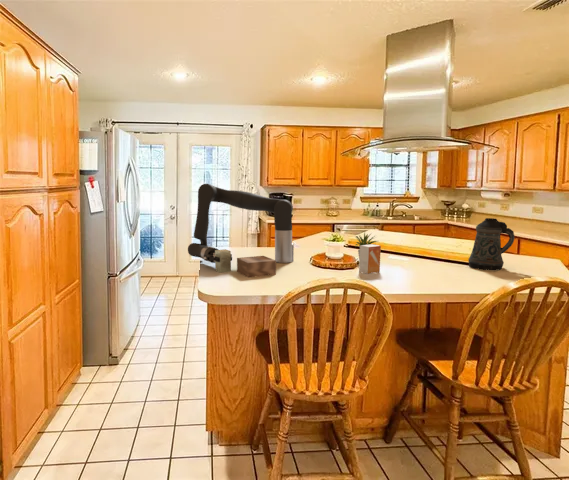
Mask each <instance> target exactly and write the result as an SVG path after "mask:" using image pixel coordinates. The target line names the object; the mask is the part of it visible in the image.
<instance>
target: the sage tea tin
mask: <svg viewBox="0 0 569 480" xmlns="http://www.w3.org/2000/svg"><path fill="white" fill-rule="evenodd" d="M231 254H232V251H231V250H230V249H229V250H228V249H225V248H224V249H218V250H215V256H216V257H219V258H220V262H216V261H215V263H214V266H215V271H216V272H218V273H228V272H232V261H231Z"/></svg>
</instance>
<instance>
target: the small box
mask: <svg viewBox="0 0 569 480" xmlns="http://www.w3.org/2000/svg"><path fill="white" fill-rule="evenodd" d="M359 250H360V259H359V258H358V261H359V265H358V266H359V267H358V272H360V273H363V274H368V275H369V274H375V273H377V274H378V273H380V272H381V271H380V270H381V268H380V267H381V253H382V252H381V245H379V244H375V245H374V243H372V244H370V245H361V246H360V247H359Z"/></svg>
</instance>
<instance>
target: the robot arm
mask: <svg viewBox="0 0 569 480" xmlns="http://www.w3.org/2000/svg"><path fill="white" fill-rule="evenodd" d="M211 203H221V204H222V203H223V204H226V205H228V206H232V207H234V208H238V209H242V210H248V211H255V212H256V211H259V212H268V213H272V214H273V215H274V217H273V218H274V260H276V263H280V264H281V263H283V264H284V263H292V262H294V259H295V258H294V257H295V255H294V254H295V252H294V249H295V248H294V243H293V222H292V221H293V218H292V217H293V215H292V214H293V210H294V209H293V204H292V202H291V201H290V200H288V199H281V198H280V199H278V198H270V197H266V196H263V195H260V194H257V193H253V192H248V191H243V190H230V189H229V190H228V189H224V188H220V187H218V186H215V185H213V184H210V183H203V184H201V185H200V186H199V187H198V192H197V211H196V212H197V213H196V219H195V220H196V221H195V225H194V230H193V231H194V232H193V237H194V238H195V239H197V240H199V242H200V243H197V242H192V243H189V245H188V247H187V253H188V254H189V256H191V257H196V258H199V259H202V260H204V261H207V262H208V263H212V264H215V261H216V262H220V258H219V257H216V256H215V250H219V249H218V248H215V247H212V246H209V245H208V231H209V224H210V217H209V216H210V214H209V213H210V206H211ZM232 255H233V254H232V253H231V262H232V261H233V256H232Z"/></svg>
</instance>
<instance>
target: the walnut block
mask: <svg viewBox="0 0 569 480" xmlns="http://www.w3.org/2000/svg"><path fill="white" fill-rule="evenodd" d="M276 265H277V262H276V260H275V259H273V258H270V257H268V256H265V255H257V256H245V257H237V258H236V272H237V273H239V274H240V275H243V276H244V275H245V277H246V278H255V276H257V277H265V276H274V275H276V274H277V272H276V271H277V269H276V268H277V267H276Z"/></svg>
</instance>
